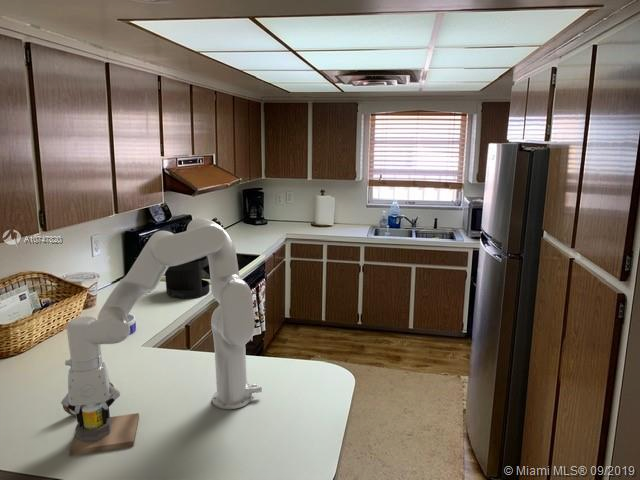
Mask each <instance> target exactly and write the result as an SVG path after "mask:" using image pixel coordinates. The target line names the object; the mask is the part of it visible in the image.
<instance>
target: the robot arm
mask: <svg viewBox="0 0 640 480" xmlns="http://www.w3.org/2000/svg"><path fill="white" fill-rule="evenodd" d="M205 256H207V257H208V267H209V278H210V293H211V295H212V297H213V298H214V299H215V301H216V302H217V303H219V305H218V306H217V307H215V309H214V310H213V313H212V314H211V319H210V320H211V323H210V326H211V331H212V336H213V337H212V338H213V346H214V360H215V361H214V362H215V365H214V367H215V381H216V383H215V384H216V392H214V393H213V395H212V404H213V405H214V406H215V407H216V408H218V409H221V410H236V409H240V408H242V407H245V406H247V405H248V404H249V403H250V402H251V401H252V400H253V394H255V393H262V392H263V391H262V388H263V387H262V385H259V386H258V385H257V383H253V384H252V383H251V384H250V383H248V380H247V379H248V378H247V357H246V356H247V355H246V344H247V343H249V342H250V341H251V339H252V337H253V336H254V333H255V316H254V314H255V313H254V302H253V295H252V294H253V293H252V291H251V287H250V286H249V285H248V283H247V282H246V281H245V280H243V278H241V277H240V271H239V264H238V257H237V252H236V247H235V245H234V242H233V240H232V238H231V237H230V235H229V233H227V231H226V230H225V229H224V228H223V227H222V226H221V225H220V224H218V223H216V222H215V221H213V220H211V219H209V218H205V217H196V218H193V219H192V220H191V221H189V222H188V224H187V227H186V230H185V231H182V232H178V233H173V232H171V231H167V230H158V231H155V232H154V233H153V234H151V236H150V237H149V239H148V241H147V242H146V243H145V245H144V247H143V248H142V250H141V251H140V253H139V255H138V257H137V258H136V260H135V261H134V262H133V264H132V266H131V267H130V269H129V271H128V272H127V274H125V276H124V277H123V278H122V279H121V281H120V282H119V283H118V284H117V285H116V286H115V288H114V289H113V290H112V292H111V293H110V295H109V296H108V297H107V298H106V301H105V302H104V304H103V305H102V307H101V309H100V310H99V313H98V315H97V319H96V318H95V317H93V316H79V317H76V318H73V319H71V320H69V322H67V324H66V334H67V341H68V348H69V349H68V350H69V357H70V359H68V360H67V359H66V360H65V361H64V362H65V363H64V365H65V366H69V367H70V368H69V370H68V373H67V393H66V394H65V396H64V397H63V398H62V399H61V402H60V404H61V405H62V406H63V405H64V406H66V407H68V408H69V409H71V410H72V411H74V413H75V414H76V416H75V417H76V422H77V424H78V423H79V424H80V427H82V426H83V424H84V423H83V416H82V407H81V406H82V405H89V404H96V403H101V404H102V406H103V409H102V416H103V423H106V422H107V419H108V418H109V417H111V416H110V407H111V406H112V404H113V403H114V402H115V401H116V400H117V399H119V397H121V391H119V390H118V389H117V388H115V386H114V385H113V386H114V387H113V386H111V384H110V382H111V379H110V375H109V372H108V371H109V370H108V368H107V365H106V363H105V362H103V356H102V349H101V345H114V344H119V343H122V342H124V341H125V340H127V339H128V337H129V336H130V335H129V333H130V326H129V323H128V321H127V318H126V317H127V316H128V314H130V312H131V310H132V309H133V307H134V306H135V305H136V303H137V302H138V301H139V300H140V298H142V297H143V296H145V295H147V294H150V293H152V292H154V290H156V288H158V285H159V284H160V282H161V280H162V279H163V277H164V276H165V272H166V271H167V269H168V267H169V266H176V265H180V264H184V263H187V262H190V261H193V260H196V259H199V258H202V257H205ZM110 393H111V394H112V395H113V396H112V397H110ZM109 397H110V398H109ZM71 398H72V399H71Z"/></svg>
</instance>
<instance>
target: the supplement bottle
mask: <svg viewBox="0 0 640 480" xmlns="http://www.w3.org/2000/svg"><path fill="white" fill-rule="evenodd" d="M102 409H103V406H102V404H101V403H96V404H89V405H83V406H82V416H83V423H84V430H91V429H97V428H99V427H100V426H102V425H104V424H105V423H103V416H102Z"/></svg>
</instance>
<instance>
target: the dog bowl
mask: <svg viewBox="0 0 640 480" xmlns="http://www.w3.org/2000/svg"><path fill="white" fill-rule="evenodd" d="M126 318H127V321H128V323H129V326H130V333H129V336H131V335H133V334H134V333H135V332H137V324H136V321H137V320H136V316H135V315H134V314H131V313H129V314H128V316H127V317H126Z"/></svg>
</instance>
